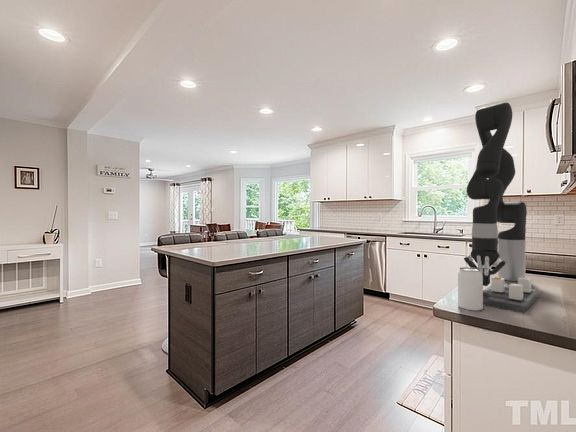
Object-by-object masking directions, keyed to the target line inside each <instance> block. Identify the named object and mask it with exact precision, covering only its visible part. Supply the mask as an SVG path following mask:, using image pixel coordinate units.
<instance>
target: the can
mask: <svg viewBox="0 0 576 432" xmlns="http://www.w3.org/2000/svg"><path fill="white" fill-rule="evenodd" d="M483 290H484V286H483V275H482V273H481V270H480V269H477V268H470V266H467V267H465V266H464V267H459V271H458V272H457V306H458V307H459V308H460V309H463V310H466V311H472V312H475V311H476V312H479V311H482V310H483V307H484V305H483Z"/></svg>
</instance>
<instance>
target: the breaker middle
mask: <svg viewBox="0 0 576 432" xmlns="http://www.w3.org/2000/svg"><path fill="white" fill-rule="evenodd" d="M505 281H506V280H505V279H504V278H500V277H498V276H495V277H494V276H493V277H490V286H491V291H496V292H503V291H505Z"/></svg>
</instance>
